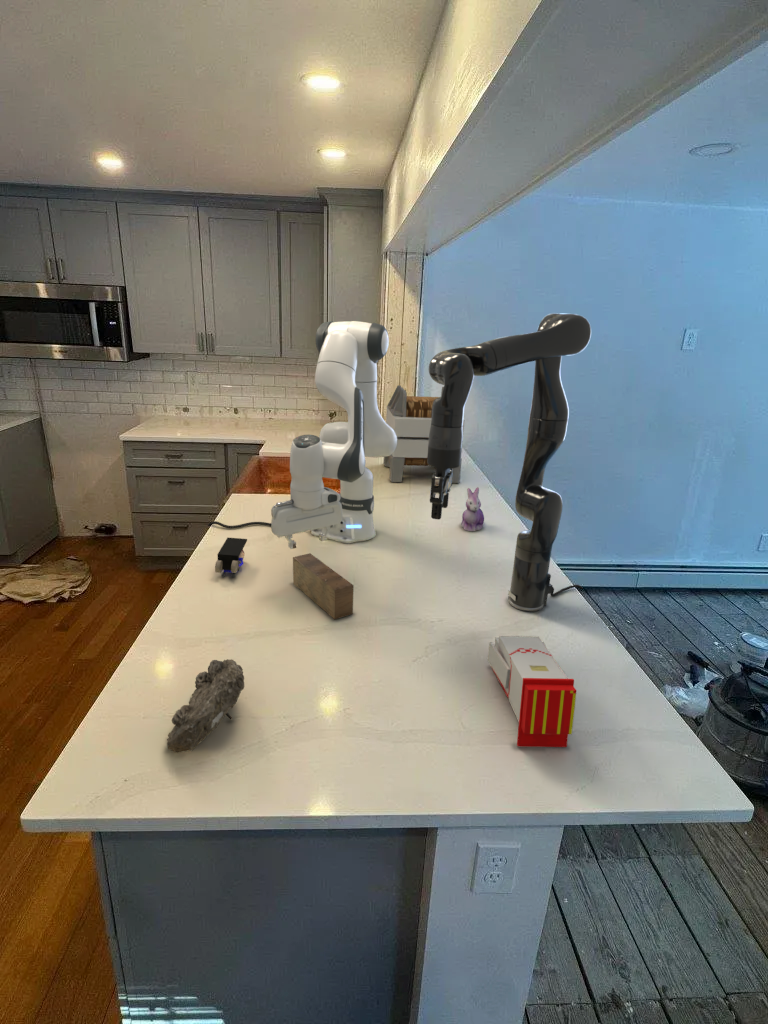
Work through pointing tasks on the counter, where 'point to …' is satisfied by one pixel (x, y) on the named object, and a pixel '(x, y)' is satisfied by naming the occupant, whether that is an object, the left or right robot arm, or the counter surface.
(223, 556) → the figurine character
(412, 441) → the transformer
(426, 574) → the counter surface
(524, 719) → the toy
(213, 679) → the fossil
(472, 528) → the figurine
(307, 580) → the bar
